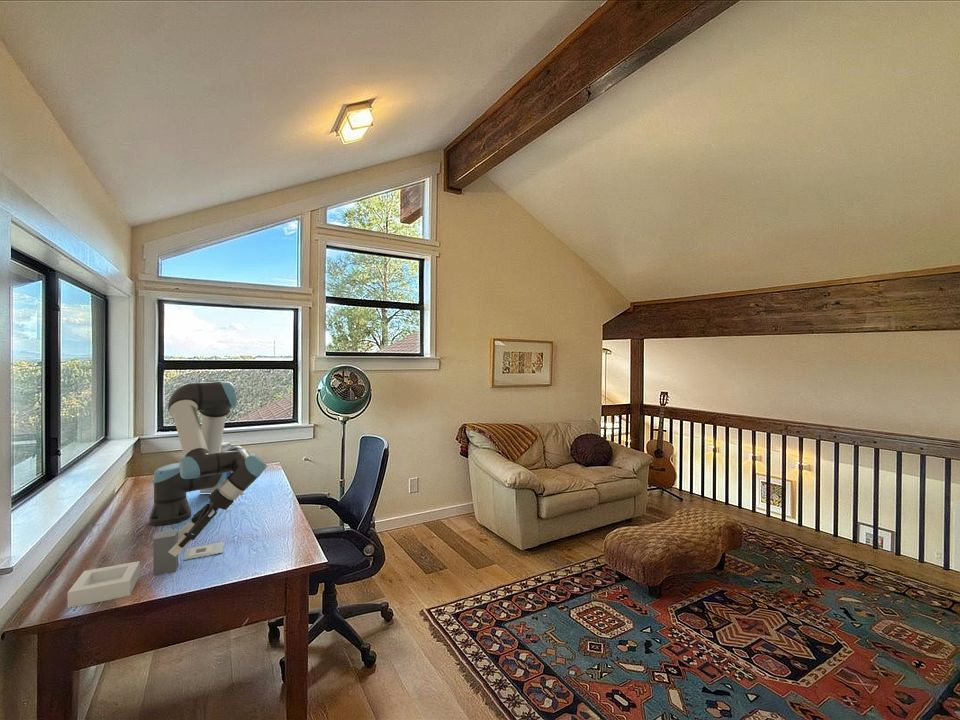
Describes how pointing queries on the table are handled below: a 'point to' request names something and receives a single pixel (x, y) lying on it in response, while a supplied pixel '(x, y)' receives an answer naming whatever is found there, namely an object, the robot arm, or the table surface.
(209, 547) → the card
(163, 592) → the table surface
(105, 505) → the table surface
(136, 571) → the socket base
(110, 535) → the table surface
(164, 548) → the charcoal pillar
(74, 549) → the table surface
